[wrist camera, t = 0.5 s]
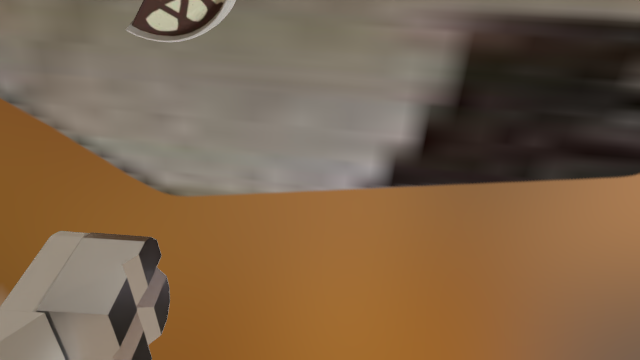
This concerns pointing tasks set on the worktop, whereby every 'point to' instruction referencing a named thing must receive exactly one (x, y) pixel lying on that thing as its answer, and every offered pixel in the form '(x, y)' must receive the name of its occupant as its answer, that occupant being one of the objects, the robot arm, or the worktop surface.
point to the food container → (178, 18)
